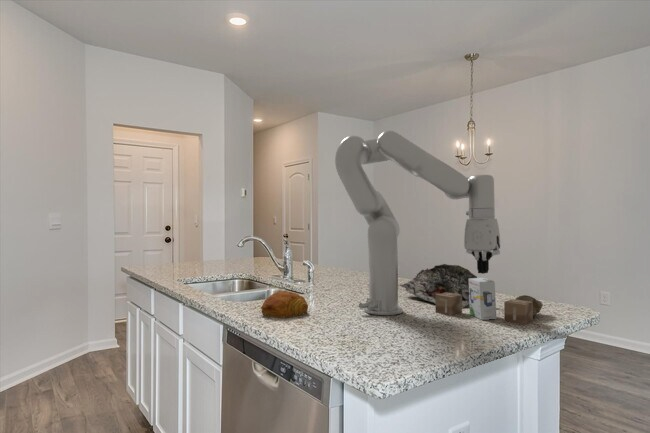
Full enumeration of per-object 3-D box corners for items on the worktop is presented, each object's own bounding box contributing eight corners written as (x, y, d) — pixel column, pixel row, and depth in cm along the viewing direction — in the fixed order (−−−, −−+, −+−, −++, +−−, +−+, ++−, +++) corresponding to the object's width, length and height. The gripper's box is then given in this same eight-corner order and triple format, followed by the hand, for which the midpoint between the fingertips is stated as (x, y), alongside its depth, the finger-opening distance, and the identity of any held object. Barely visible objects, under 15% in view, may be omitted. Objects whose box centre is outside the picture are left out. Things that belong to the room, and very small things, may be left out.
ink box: (496, 320, 126) (496, 281, 126) (480, 320, 126) (480, 281, 126) (483, 313, 135) (483, 277, 135) (468, 313, 135) (467, 277, 135)
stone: (512, 304, 141) (528, 287, 137) (532, 321, 136) (549, 304, 133) (499, 310, 131) (515, 292, 128) (519, 329, 127) (537, 311, 124)
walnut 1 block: (525, 325, 120) (525, 304, 120) (504, 322, 124) (504, 301, 124) (532, 321, 124) (532, 301, 124) (512, 318, 129) (512, 298, 129)
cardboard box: (451, 316, 132) (451, 296, 132) (435, 312, 137) (435, 294, 137) (462, 313, 136) (462, 294, 136) (446, 310, 141) (446, 292, 141)
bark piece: (492, 290, 149) (432, 268, 175) (485, 273, 146) (425, 253, 171) (460, 327, 143) (403, 298, 169) (451, 310, 140) (394, 284, 166)
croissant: (280, 313, 147) (278, 290, 148) (315, 312, 138) (313, 288, 139) (250, 320, 135) (248, 295, 136) (287, 320, 126) (284, 293, 127)
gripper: (454, 215, 134) (455, 272, 134) (498, 214, 122) (499, 276, 122) (467, 214, 139) (468, 270, 139) (511, 213, 127) (512, 274, 127)
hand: (483, 272), depth 130 cm, fingers closed
